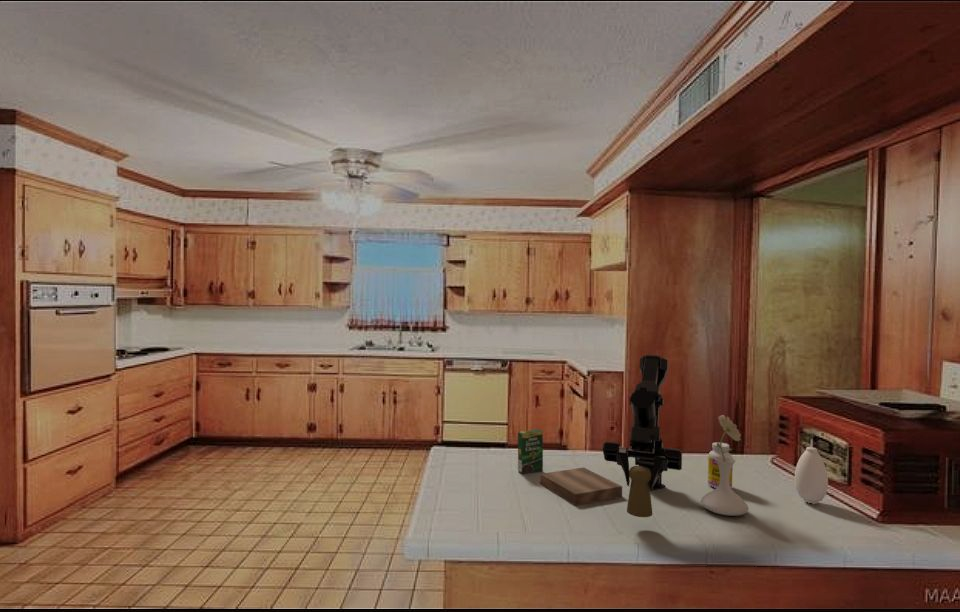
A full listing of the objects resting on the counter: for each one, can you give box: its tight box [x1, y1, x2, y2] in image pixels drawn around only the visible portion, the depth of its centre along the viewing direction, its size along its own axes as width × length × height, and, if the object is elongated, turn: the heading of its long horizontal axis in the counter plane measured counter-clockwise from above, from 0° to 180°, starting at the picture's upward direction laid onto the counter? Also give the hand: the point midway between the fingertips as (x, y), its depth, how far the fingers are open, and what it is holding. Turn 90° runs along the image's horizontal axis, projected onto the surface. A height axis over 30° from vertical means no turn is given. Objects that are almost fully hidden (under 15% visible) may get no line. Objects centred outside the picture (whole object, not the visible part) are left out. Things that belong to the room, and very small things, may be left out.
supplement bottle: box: [707, 441, 734, 489], centre depth 155 cm, size 7×7×13 cm
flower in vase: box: [700, 414, 749, 517], centre depth 137 cm, size 13×11×25 cm
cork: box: [626, 465, 654, 518], centre depth 125 cm, size 6×6×11 cm
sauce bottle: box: [794, 438, 829, 505], centre depth 143 cm, size 8×8×18 cm
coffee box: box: [517, 429, 544, 474], centre depth 167 cm, size 8×3×13 cm, turn 113°
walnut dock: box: [539, 467, 623, 506], centre depth 151 cm, size 16×18×3 cm
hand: (639, 486), depth 124 cm, fingers closed on cork, 5 cm apart
